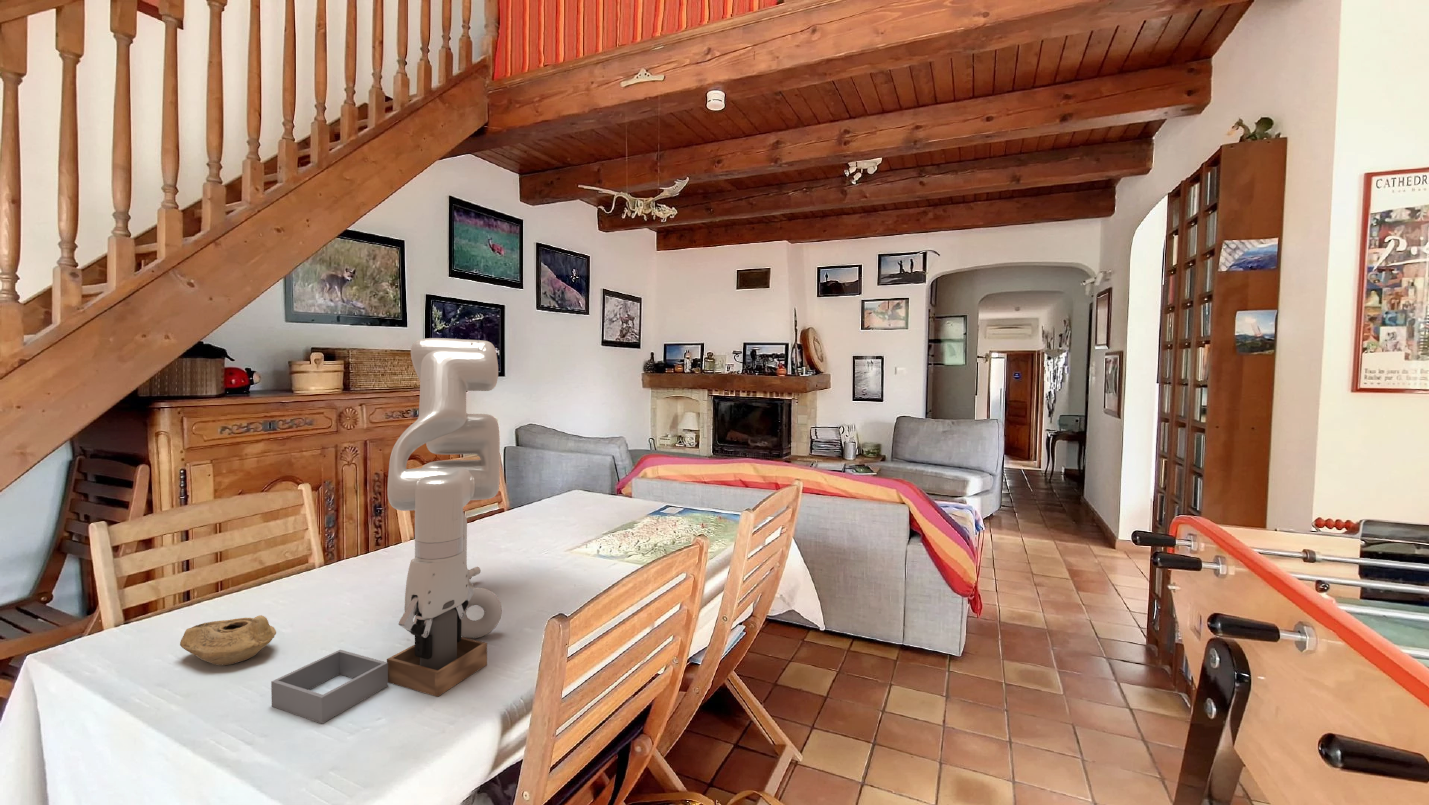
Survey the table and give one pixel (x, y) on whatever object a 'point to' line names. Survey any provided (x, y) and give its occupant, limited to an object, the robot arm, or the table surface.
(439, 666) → the bottle
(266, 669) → the table surface
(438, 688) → the walnut bin
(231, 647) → the oil lamp
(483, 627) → the donut
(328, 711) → the grey bin
